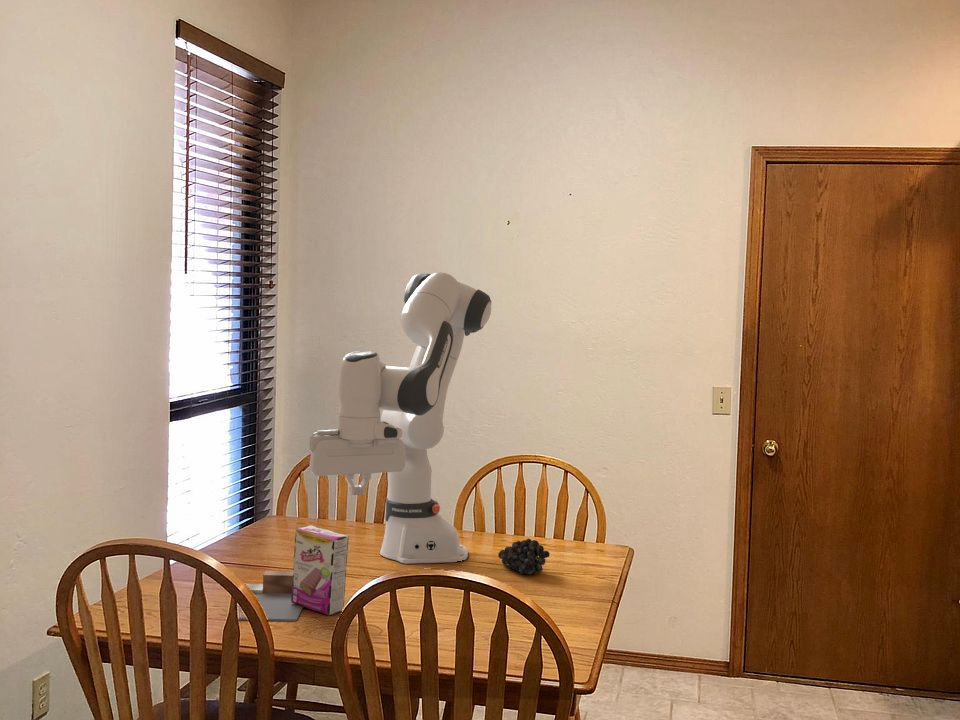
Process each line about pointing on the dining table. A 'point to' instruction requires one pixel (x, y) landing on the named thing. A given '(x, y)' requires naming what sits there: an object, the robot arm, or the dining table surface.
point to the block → (274, 583)
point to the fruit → (524, 556)
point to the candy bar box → (319, 569)
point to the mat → (277, 607)
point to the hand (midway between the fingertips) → (357, 494)
